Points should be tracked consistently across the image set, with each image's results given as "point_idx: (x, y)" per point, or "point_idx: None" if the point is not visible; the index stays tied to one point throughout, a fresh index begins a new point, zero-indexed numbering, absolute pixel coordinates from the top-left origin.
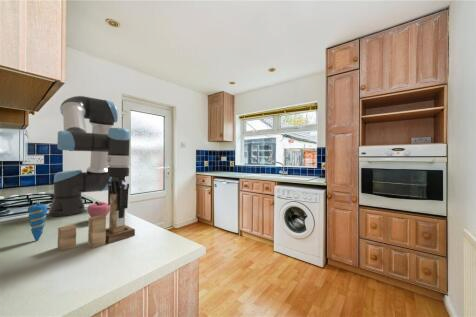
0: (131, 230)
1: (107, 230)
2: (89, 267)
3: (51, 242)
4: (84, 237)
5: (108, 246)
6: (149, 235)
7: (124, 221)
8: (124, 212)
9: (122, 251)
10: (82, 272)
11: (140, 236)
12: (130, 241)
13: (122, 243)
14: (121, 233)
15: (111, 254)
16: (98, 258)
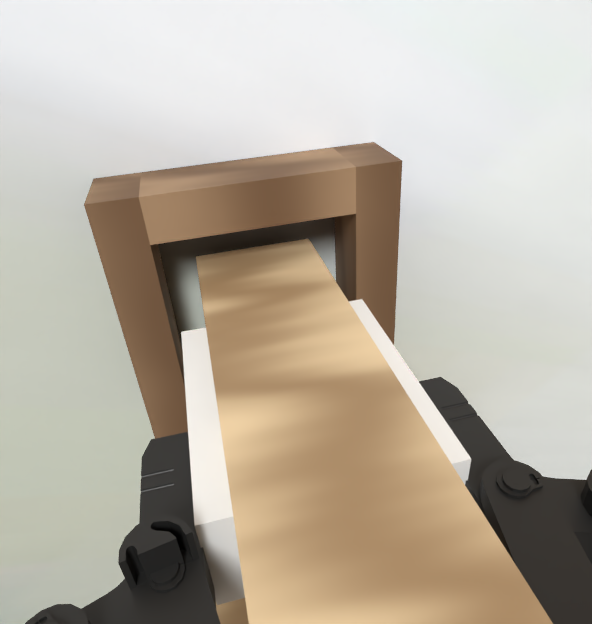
0: (398, 201)
1: (183, 376)
2: (576, 450)
3: (70, 602)
4: (96, 474)
5: (424, 365)
6: (507, 7)
7: (350, 307)
8: (404, 395)
9: (574, 314)
10: (588, 468)
11: (447, 104)
12: (475, 225)
13: (457, 284)
14: (393, 299)
15: (549, 368)
16: (530, 420)
